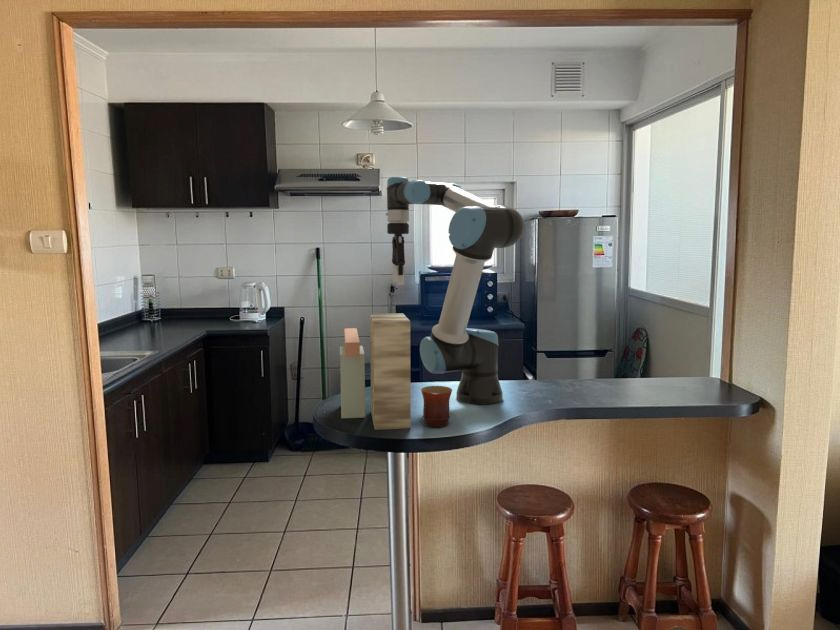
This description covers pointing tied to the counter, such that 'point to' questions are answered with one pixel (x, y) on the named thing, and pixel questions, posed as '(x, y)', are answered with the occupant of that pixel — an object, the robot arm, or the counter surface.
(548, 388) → the counter surface
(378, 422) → the stand
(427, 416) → the mug
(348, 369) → the post low
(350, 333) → the batten
